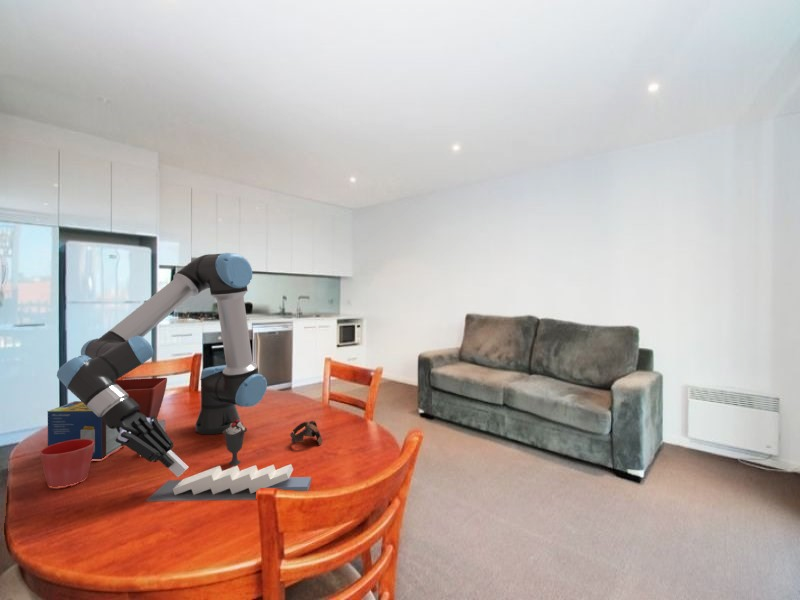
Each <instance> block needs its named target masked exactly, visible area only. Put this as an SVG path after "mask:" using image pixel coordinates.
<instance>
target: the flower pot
mask: <svg viewBox="0 0 800 600" xmlns="http://www.w3.org/2000/svg"><path fill="white" fill-rule="evenodd" d="M94 445H95V441H94V440H91V439H76V440H69V441H64V442H60V443H57V444H53V445H50V446H48V445H47V446H45V447H44V448H42V449H41V450H40V451H39V457H40V461H41V464H42V469H43V473H44V476H45V480H46V484H47V486H48V485H49V486H52V487H58V486H66V485H70V484H74V483H77V482H80V481H82V480H84V479H85V478H86V477H87V478H88V476H89V471H90V467H91V463H92V462H91V460H92V455H93V450H94ZM84 481H85V480H84Z"/></svg>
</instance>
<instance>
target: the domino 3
mask: <svg viewBox="0 0 800 600" xmlns="http://www.w3.org/2000/svg"><path fill="white" fill-rule="evenodd" d="M258 470H259V469H258V466H257V465H256V464H255V465H252V466H250V467H247V468H246V467H245V468H244V469H241V470H240V471H239V473H238V474H237V475H236V476H235V478H234V479H233V480H232V481H230V482H227V483H224V484H222V485H219V486H216V487H214V488H211V490H212V493H213V494H216V493H219V492H221V491H224V490H226V489H229V488H232V487H234V486H237V485H240V484H242V483H245V482H247V481H250V480H252V478H253V477H254V475H255V474H256V473H257V471H258Z"/></svg>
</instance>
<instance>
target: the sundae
mask: <svg viewBox="0 0 800 600" xmlns="http://www.w3.org/2000/svg"><path fill="white" fill-rule="evenodd" d="M235 417H236V416H235ZM235 417H234V419H235ZM234 419H233V422H232V423H231V424H230V426H229V427H228V428H227V429H225V430H224V431H223V432H222V433H221V434H223V435H224V437H225V445H226V450H227V451H228V452H229V453H231V454H232V458H231V461H230V462H229V463H228V465H229V466H237V465H239V464H241V460H238V452H240V450H242V449H243V444H244V436H245V433H247V431H248V428H247V427H245V425H244V424H243V422H242V421H241V420H240V421H238V420H237V419H235V421H234ZM243 425H244V426H243Z"/></svg>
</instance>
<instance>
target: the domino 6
mask: <svg viewBox="0 0 800 600" xmlns="http://www.w3.org/2000/svg"><path fill="white" fill-rule="evenodd" d="M311 483H312V476H290V477H289V479H287V480H285V481H282V482H279V483H277V484H274V485H272V486H269V487H267V488H278V489H283V490H294V491H308V492H309V490H310V487H311Z"/></svg>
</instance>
